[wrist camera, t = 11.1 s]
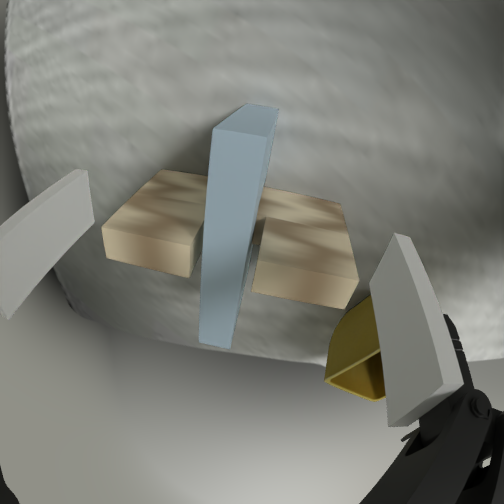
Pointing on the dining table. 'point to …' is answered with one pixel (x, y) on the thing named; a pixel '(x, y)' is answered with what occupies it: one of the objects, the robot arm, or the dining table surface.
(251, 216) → the pale blue upright slab
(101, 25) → the dining table surface
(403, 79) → the dining table surface
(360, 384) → the flower pot
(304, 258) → the tan wooden block
